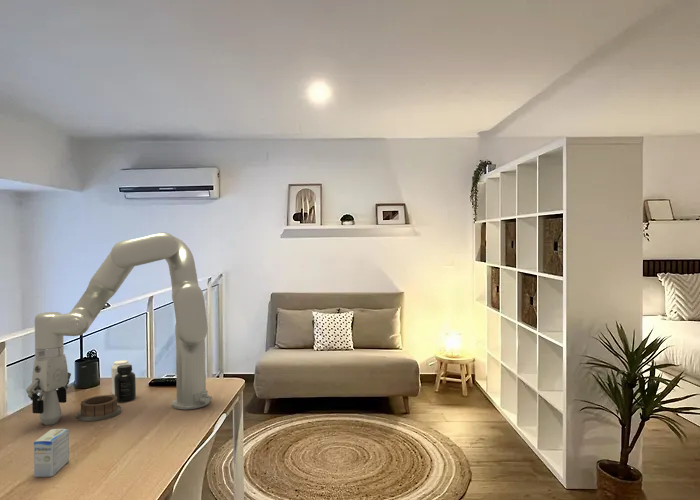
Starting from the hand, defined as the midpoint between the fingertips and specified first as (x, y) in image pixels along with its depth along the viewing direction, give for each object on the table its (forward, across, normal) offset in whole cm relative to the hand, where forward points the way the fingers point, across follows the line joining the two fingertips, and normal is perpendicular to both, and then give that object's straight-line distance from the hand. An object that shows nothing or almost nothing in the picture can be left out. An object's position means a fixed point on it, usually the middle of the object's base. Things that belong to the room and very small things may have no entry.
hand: (50, 407), depth 149 cm
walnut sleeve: (+5, +8, -11) cm, 14 cm away
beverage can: (+5, +28, -6) cm, 29 cm away
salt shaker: (+5, 0, 0) cm, 5 cm away
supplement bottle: (+5, +23, -11) cm, 26 cm away
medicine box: (+5, -28, -23) cm, 37 cm away
